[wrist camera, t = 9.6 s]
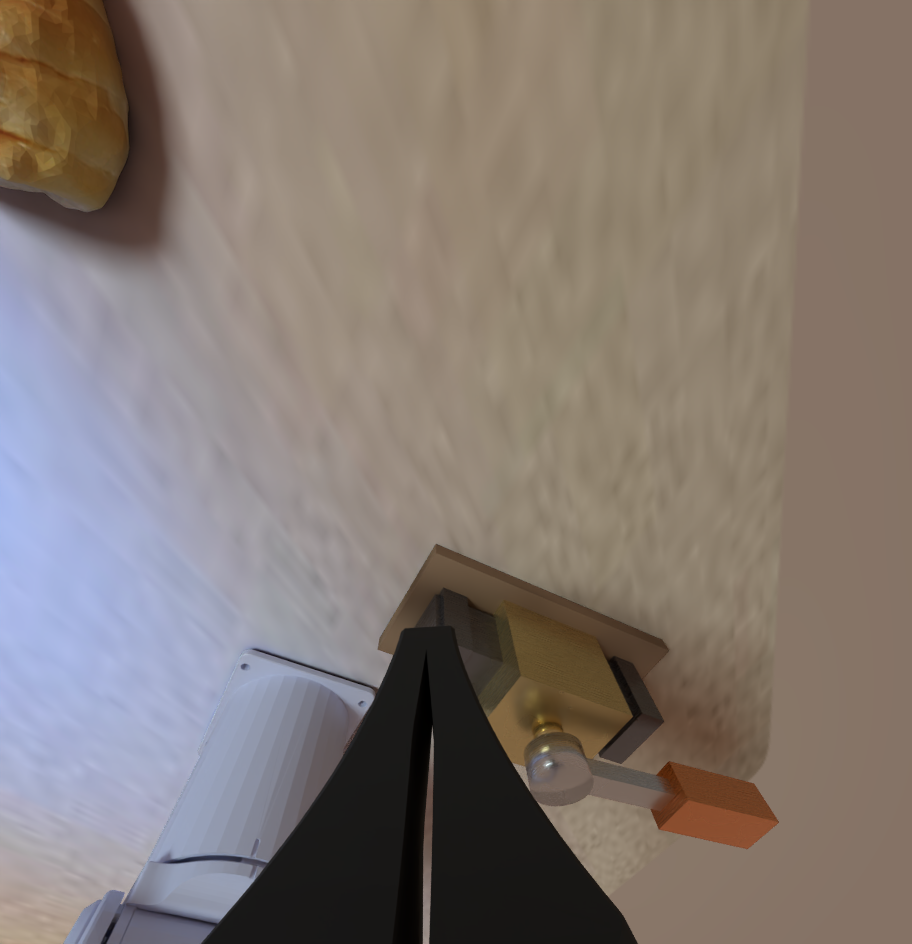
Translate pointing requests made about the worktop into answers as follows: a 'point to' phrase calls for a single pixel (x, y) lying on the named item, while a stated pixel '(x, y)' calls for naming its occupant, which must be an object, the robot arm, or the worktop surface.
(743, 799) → the lever
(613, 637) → the plank
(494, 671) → the valve
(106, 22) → the pastry
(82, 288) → the worktop surface
